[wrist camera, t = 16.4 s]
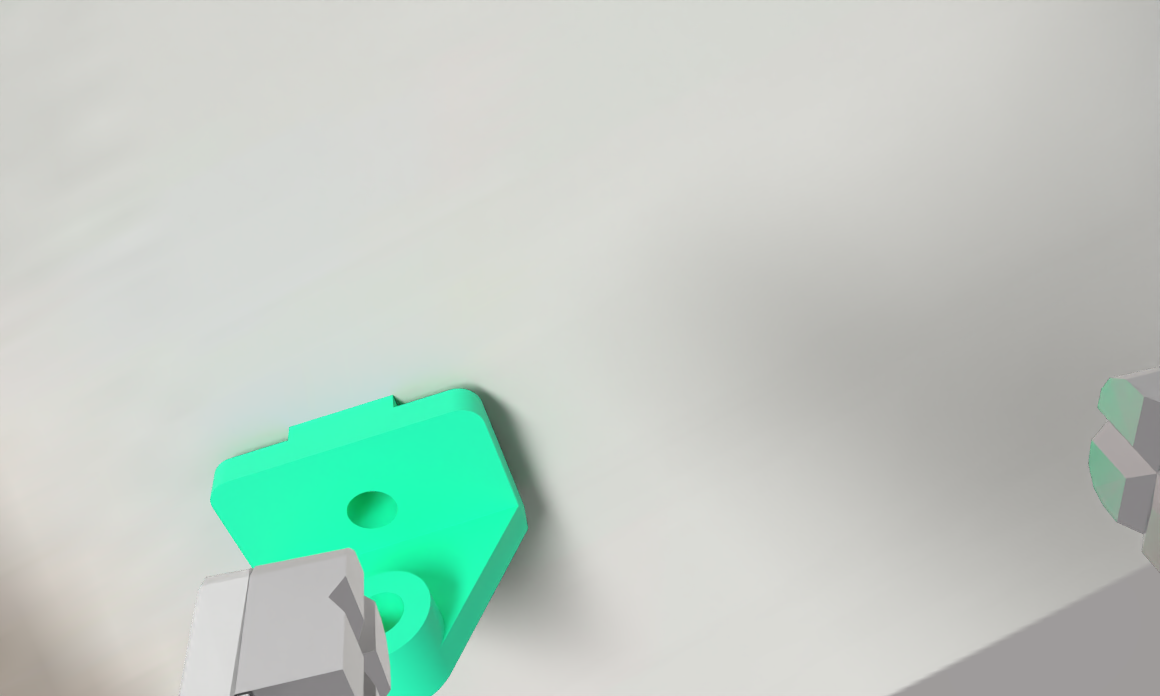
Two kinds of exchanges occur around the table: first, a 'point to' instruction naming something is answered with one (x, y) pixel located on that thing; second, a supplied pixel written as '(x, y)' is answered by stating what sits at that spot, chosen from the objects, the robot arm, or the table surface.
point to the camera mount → (389, 517)
